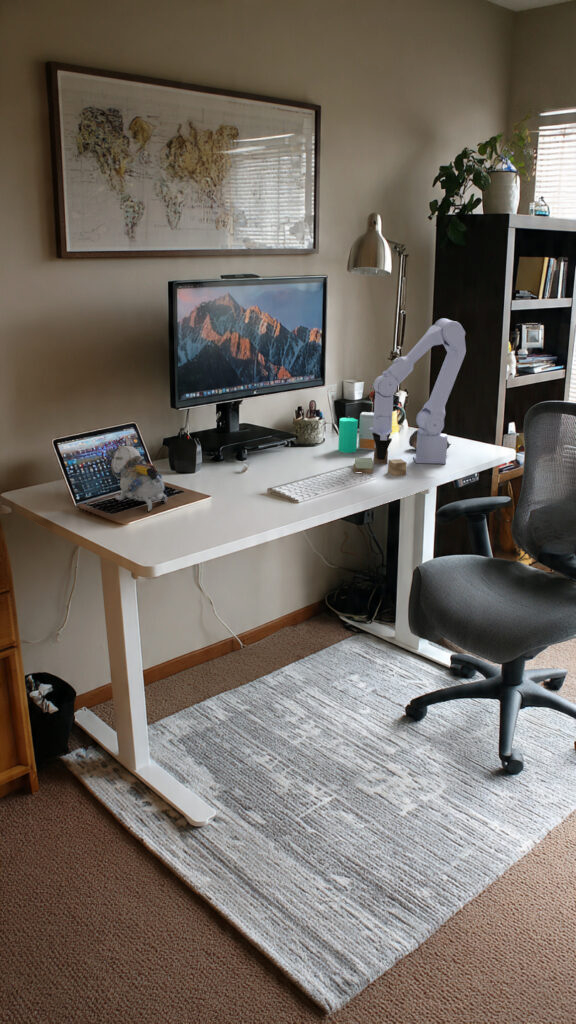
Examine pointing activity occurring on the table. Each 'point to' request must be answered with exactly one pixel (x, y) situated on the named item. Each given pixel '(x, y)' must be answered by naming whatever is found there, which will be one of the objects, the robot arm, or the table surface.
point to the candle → (348, 435)
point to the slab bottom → (363, 470)
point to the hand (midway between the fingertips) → (380, 457)
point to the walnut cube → (380, 460)
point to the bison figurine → (414, 440)
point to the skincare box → (366, 431)
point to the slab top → (363, 462)
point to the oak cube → (397, 467)
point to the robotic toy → (136, 476)
